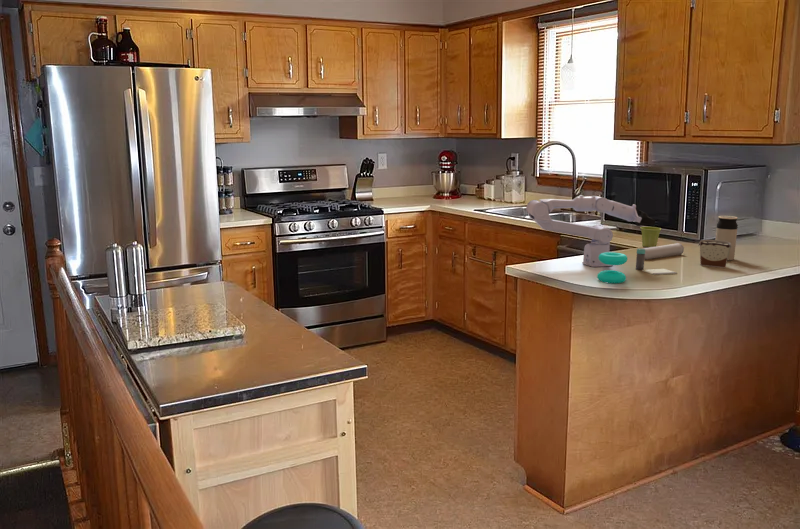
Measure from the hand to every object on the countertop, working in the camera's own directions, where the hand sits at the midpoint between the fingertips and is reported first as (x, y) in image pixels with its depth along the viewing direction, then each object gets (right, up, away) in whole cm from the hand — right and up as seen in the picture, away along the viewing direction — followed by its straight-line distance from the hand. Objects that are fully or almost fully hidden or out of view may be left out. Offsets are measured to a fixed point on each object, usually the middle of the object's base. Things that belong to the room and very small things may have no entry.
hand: (650, 220), depth 286 cm
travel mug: (+37, -16, +18) cm, 44 cm away
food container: (+27, -18, +4) cm, 33 cm away
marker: (-7, -20, -6) cm, 22 cm away
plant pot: (+16, -10, +47) cm, 50 cm away
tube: (+11, -15, +21) cm, 28 cm away
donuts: (-24, -24, -28) cm, 44 cm away
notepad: (-1, -21, -12) cm, 24 cm away
